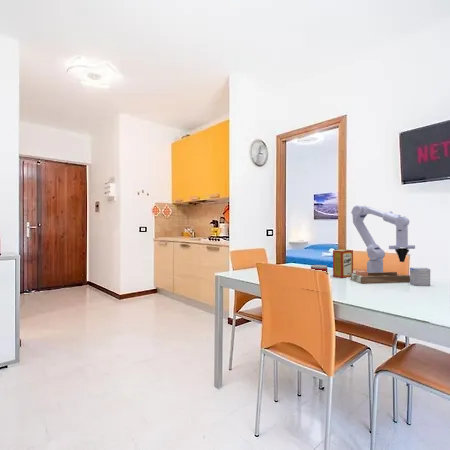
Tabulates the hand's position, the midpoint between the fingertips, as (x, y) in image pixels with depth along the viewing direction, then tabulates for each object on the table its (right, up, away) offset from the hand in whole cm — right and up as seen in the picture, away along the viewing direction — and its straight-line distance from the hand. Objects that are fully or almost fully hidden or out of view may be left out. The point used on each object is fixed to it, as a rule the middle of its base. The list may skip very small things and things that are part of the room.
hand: (402, 261), depth 174 cm
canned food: (-54, -11, -23) cm, 60 cm away
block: (-26, -8, -7) cm, 28 cm away
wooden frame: (-16, -10, -6) cm, 20 cm away
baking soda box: (-31, -10, +7) cm, 33 cm away
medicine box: (-1, -10, -18) cm, 21 cm away
